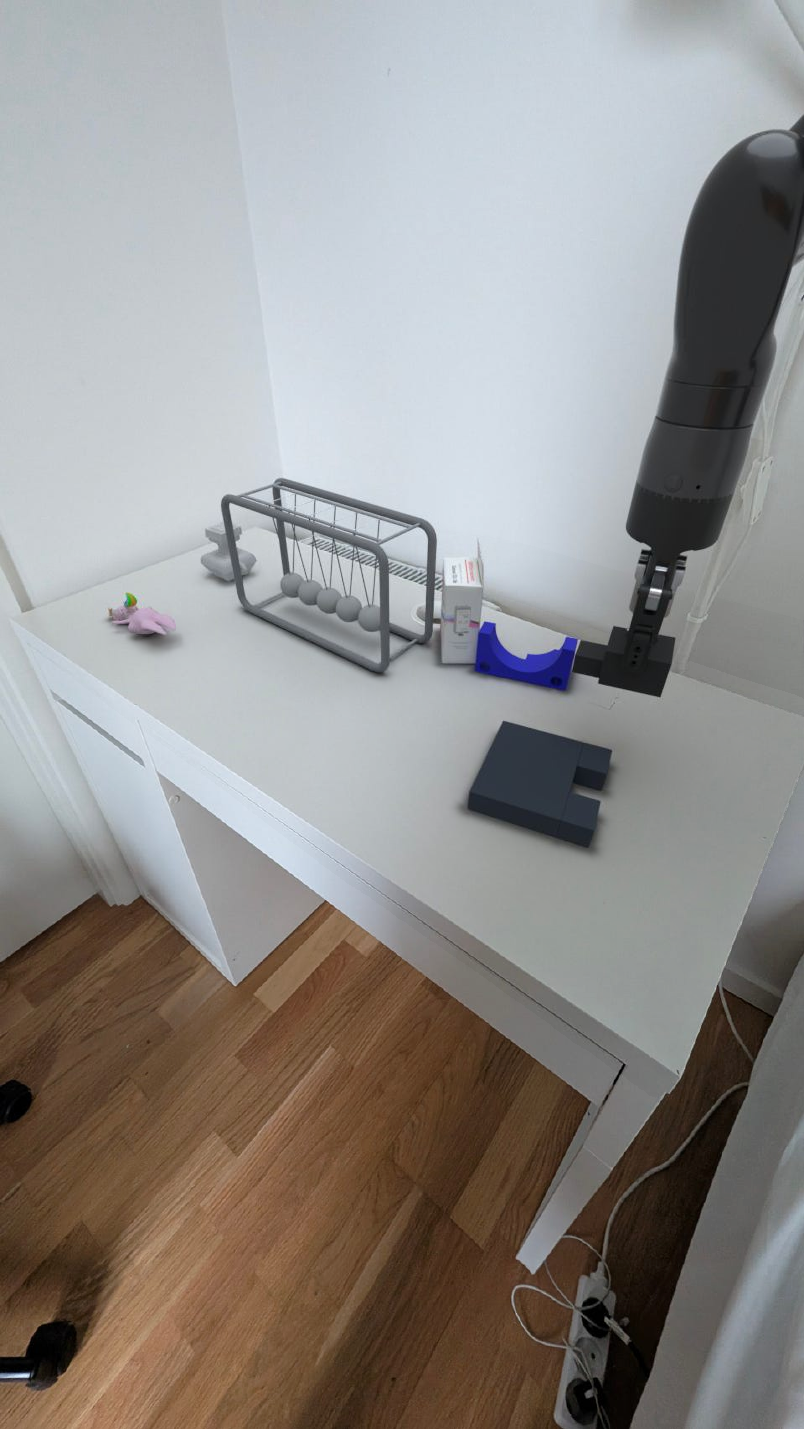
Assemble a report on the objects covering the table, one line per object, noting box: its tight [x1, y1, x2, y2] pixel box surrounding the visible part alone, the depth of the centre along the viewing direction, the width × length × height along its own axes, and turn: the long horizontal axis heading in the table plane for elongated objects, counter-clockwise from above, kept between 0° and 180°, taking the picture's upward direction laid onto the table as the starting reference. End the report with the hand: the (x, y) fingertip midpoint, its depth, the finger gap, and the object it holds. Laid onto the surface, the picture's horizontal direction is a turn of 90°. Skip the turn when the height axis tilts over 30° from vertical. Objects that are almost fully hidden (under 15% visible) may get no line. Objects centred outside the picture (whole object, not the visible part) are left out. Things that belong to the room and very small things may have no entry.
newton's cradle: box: [220, 477, 438, 673], centre depth 80 cm, size 30×10×18 cm, turn 51°
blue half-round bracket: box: [474, 620, 579, 692], centre depth 75 cm, size 12×4×6 cm, turn 69°
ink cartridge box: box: [439, 536, 485, 665], centre depth 77 cm, size 9×5×15 cm, turn 179°
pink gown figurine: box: [107, 592, 177, 636], centre depth 83 cm, size 6×6×15 cm
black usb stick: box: [571, 625, 676, 698], centre depth 58 cm, size 9×5×4 cm, turn 66°
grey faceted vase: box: [200, 521, 258, 582], centre depth 96 cm, size 9×7×8 cm
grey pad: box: [467, 720, 613, 848], centre depth 60 cm, size 12×12×2 cm
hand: (634, 655), depth 58 cm, fingers closed on black usb stick, 5 cm apart
